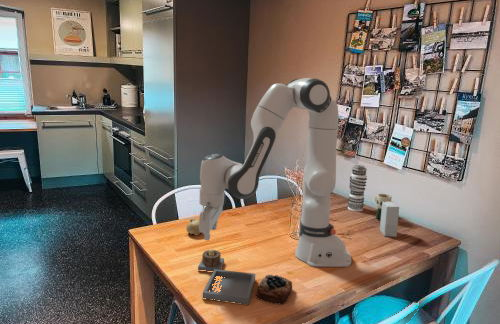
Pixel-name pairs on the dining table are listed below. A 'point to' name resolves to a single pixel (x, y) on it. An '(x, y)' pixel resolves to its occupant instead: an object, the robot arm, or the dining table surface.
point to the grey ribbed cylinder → (357, 188)
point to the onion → (193, 227)
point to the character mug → (379, 200)
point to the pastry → (274, 289)
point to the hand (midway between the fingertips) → (210, 234)
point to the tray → (231, 286)
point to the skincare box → (389, 219)
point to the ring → (211, 258)
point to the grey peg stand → (207, 268)
